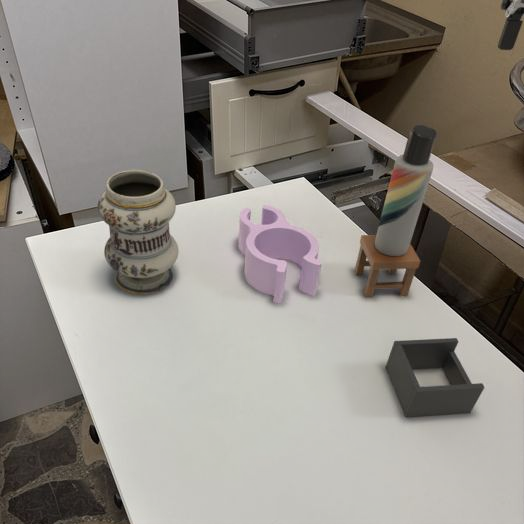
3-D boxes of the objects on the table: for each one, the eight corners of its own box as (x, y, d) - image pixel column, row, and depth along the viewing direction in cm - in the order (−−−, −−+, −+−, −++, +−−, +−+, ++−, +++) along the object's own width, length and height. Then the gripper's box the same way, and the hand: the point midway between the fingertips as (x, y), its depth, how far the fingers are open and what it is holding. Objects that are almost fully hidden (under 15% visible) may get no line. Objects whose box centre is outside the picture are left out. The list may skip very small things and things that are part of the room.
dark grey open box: (444, 365, 81) (456, 337, 77) (469, 415, 74) (484, 387, 70) (384, 369, 79) (394, 340, 75) (404, 419, 73) (416, 391, 69)
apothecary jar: (149, 309, 85) (137, 211, 73) (94, 282, 89) (74, 184, 77) (193, 273, 93) (190, 179, 80) (141, 250, 97) (130, 156, 84)
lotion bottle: (391, 234, 91) (424, 118, 77) (414, 251, 88) (452, 133, 74) (367, 243, 89) (396, 124, 75) (389, 260, 86) (424, 140, 72)
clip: (222, 243, 100) (223, 211, 95) (282, 233, 104) (285, 201, 99) (262, 308, 87) (265, 275, 83) (328, 294, 91) (335, 261, 86)
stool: (394, 271, 98) (405, 234, 92) (408, 298, 92) (420, 261, 86) (352, 272, 96) (361, 235, 91) (364, 300, 91) (374, 262, 85)
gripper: (639, -80, 58) (569, 76, 70) (570, -96, 68) (518, 44, 80) (578, -85, 57) (517, 75, 69) (516, -100, 67) (472, 42, 78)
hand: (518, 58), depth 74 cm, fingers open, 8 cm apart
